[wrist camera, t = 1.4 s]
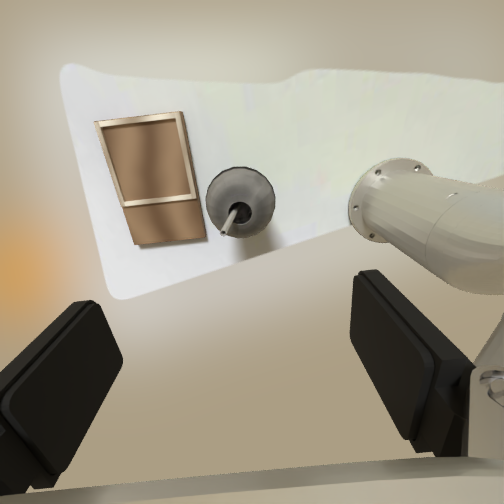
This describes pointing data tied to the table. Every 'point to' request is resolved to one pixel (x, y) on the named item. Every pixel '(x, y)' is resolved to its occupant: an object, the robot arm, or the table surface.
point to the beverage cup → (240, 202)
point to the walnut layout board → (153, 176)
